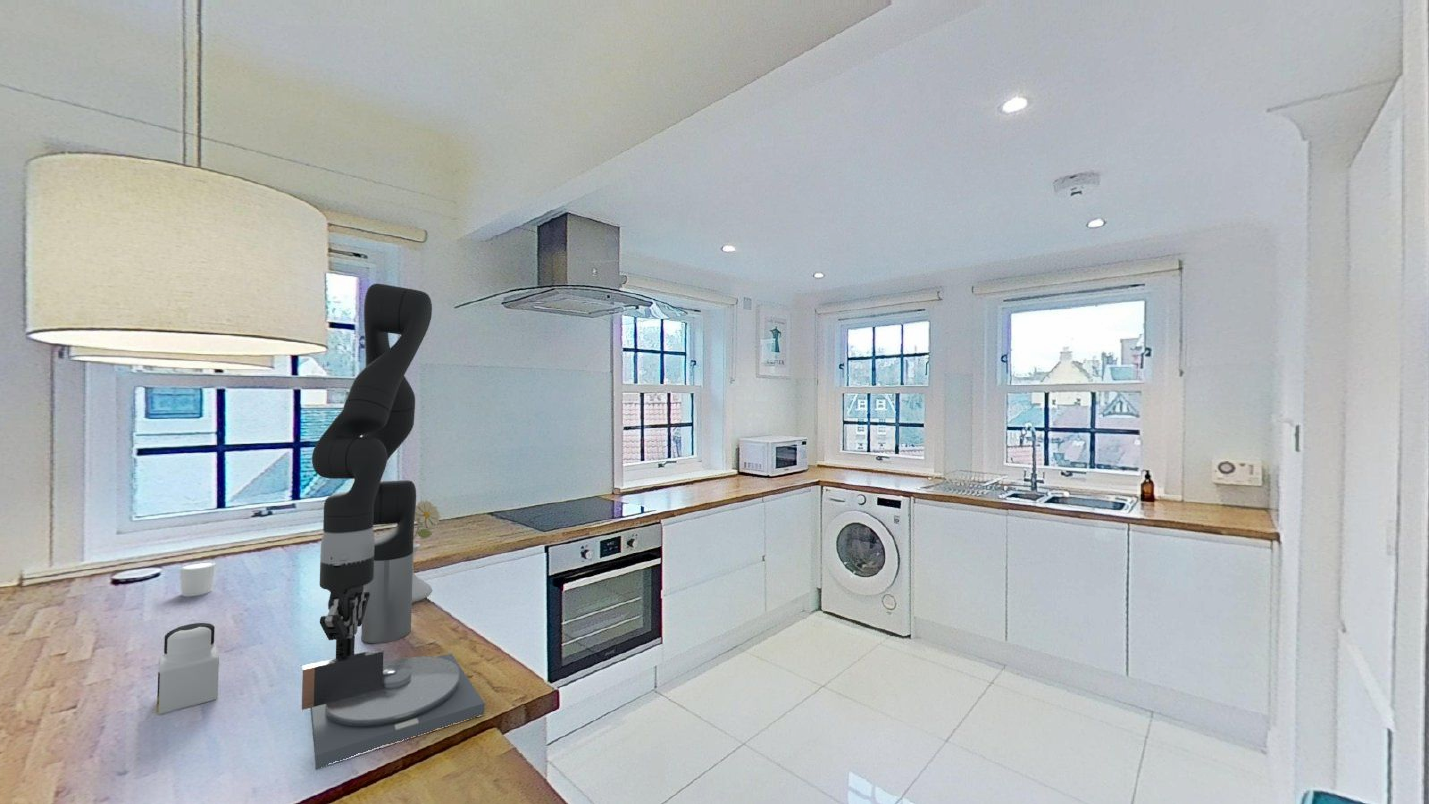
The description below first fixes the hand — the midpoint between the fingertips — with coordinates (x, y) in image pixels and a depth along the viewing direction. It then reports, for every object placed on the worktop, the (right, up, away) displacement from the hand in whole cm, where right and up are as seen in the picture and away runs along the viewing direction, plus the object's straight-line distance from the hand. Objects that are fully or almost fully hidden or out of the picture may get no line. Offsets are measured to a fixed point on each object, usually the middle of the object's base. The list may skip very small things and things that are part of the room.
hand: (344, 659), depth 91 cm
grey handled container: (-26, -7, 0) cm, 27 cm away
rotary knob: (+8, -5, -2) cm, 10 cm away
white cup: (-72, -6, +49) cm, 88 cm away
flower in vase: (-16, -8, +48) cm, 51 cm away
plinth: (+9, -7, -1) cm, 12 cm away
